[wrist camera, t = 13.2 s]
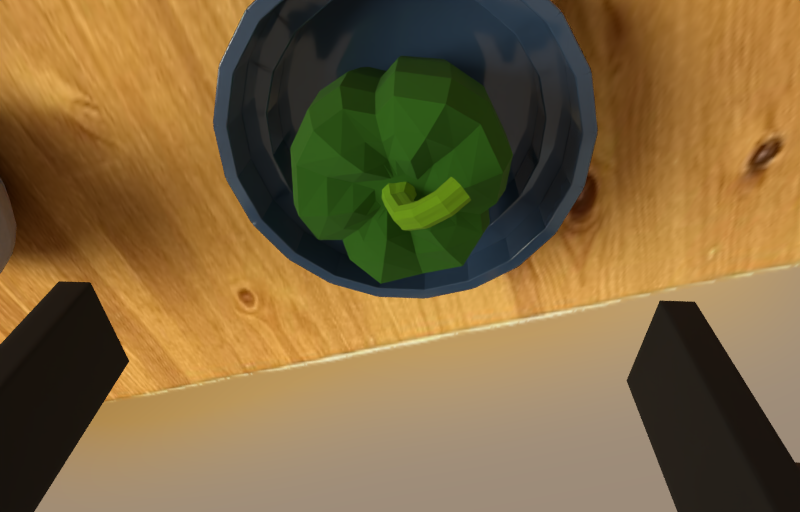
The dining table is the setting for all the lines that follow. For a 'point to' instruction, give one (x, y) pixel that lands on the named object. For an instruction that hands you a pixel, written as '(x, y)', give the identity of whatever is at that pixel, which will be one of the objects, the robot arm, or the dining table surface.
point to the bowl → (379, 48)
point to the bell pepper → (401, 166)
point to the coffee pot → (6, 227)
